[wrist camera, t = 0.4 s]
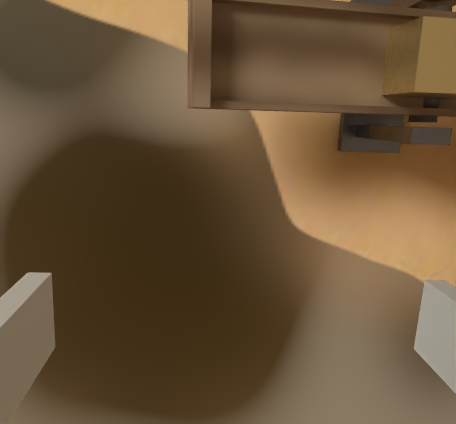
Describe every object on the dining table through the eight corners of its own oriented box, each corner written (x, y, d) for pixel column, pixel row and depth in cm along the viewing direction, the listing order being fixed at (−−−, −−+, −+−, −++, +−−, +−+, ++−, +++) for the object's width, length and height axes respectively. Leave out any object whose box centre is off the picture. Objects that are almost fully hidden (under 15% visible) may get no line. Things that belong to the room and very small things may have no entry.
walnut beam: (187, -10, 27) (200, -42, 22) (615, 29, 34) (705, 13, 29) (187, 115, 29) (198, 115, 23) (594, 127, 36) (675, 128, 31)
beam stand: (350, 0, 39) (412, -48, 27) (411, 3, 39) (497, -43, 28) (337, 150, 42) (388, 162, 31) (394, 151, 42) (465, 164, 31)
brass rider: (388, 29, 29) (423, 16, 25) (466, 34, 30) (511, 22, 26) (381, 95, 30) (414, 92, 26) (456, 98, 30) (499, 95, 27)
